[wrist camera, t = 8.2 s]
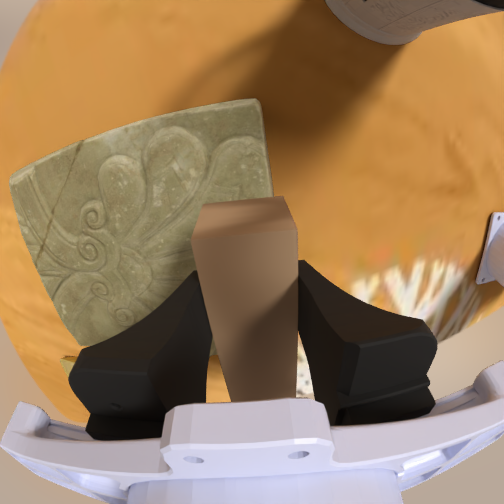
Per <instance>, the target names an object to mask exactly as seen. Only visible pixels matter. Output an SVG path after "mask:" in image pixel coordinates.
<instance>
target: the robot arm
mask: <svg viewBox="0 0 504 504" xmlns="http://www.w3.org/2000/svg"><path fill="white" fill-rule="evenodd" d="M494 280H497V281H498V282H499V283H500V284H501V285H502V286H503V287H504V212H494V213H493V214H492V216H491V220H490V225H489V230H488V235H487V239H486V244H485V248H484V252H483V256H482V260H481V264H480V267H479V271H478V274H477V278H476V283H477V284H483V283H487V282H491V281H494ZM298 332H299V335H300V338H301V341H302V344H303V347H304V350H305V354H306V357H307V360H308V364H309V369H310V374H311V380H312V385H313V391H314V397H315V401H314V400H312V399H309V398H294V397H287V398H278V399H268V400H257V401H242V402H221V403H206V381H207V368H208V361H209V355H210V349H211V343H212V337H213V334H212V330H211V327H210V323H209V319H208V315H207V311H206V306H205V302H204V298H203V294H202V290H201V285H200V281H199V277H198V272H197V270H194V271H193V272H192V273H191V274H190V275H189V276H188V277H187V278H186V279H185V280H184V281H183V282H182V284H181V285H180V286H179V287H178V288H177V289H176V290H175V291H174V292H173V293H172V294H171V295H170V296H169V297H168V298H167V299H166V300H165V301H164V302H163V303H162V304H161V305H160V306H158V307H157V308H156V309H155V310H154V311H152V312H151V313H150V314H149V315H147V316H146V317H145V318H143V319H142V320H140V321H139V322H137V323H136V324H134V325H132V326H131V327H129V328H128V329H126V330H124V331H123V332H121V333H119V334H117V335H115V336H113V337H111V338H109V339H107V340H105V341H102V342H100V343H97V344H95V345H92V346H89V347H87V348H84V349H82V350H81V352H80V354H79V356H78V358H77V360H76V362H75V364H74V365H73V367H72V369H71V371H70V374H69V378H68V380H69V384H70V387H71V388H72V390H73V392H74V393H75V395H76V396H77V397H78V398H79V400H80V401H81V402H82V404H83V405H84V406H85V407H86V408H87V410H88V411H89V412H90V413H91V414H90V417H89V420H88V423H87V426H86V428H85V427H80V426H76V425H72V424H68V423H63V422H60V421H56V420H52V419H50V417H49V416H48V414H47V413H45V411H44V410H43V409H41V408H40V407H38V406H36V405H33V404H29V403H26V402H22V401H19V403H18V405H17V407H16V409H15V411H14V413H13V415H12V417H11V419H10V422H9V424H8V426H7V428H6V431H5V433H4V435H3V437H2V440H1V442H0V447H1V448H2V449H4V450H5V451H6V452H7V453H8V454H10V455H11V456H12V457H13V458H15V459H16V460H17V461H19V462H20V463H21V464H22V465H24V466H25V467H27V468H28V469H29V470H30V471H32V472H33V473H35V474H36V475H38V476H40V477H42V478H45V479H47V480H49V481H51V482H54V483H56V484H59V485H61V486H63V487H66V488H68V489H70V490H73V491H76V492H78V493H81V494H83V495H86V496H89V497H92V498H95V499H97V500H100V501H103V502H106V503H109V504H404V503H403V499H402V496H401V492H402V491H404V490H406V489H409V488H411V487H413V486H416V485H418V484H420V483H422V482H424V481H426V480H428V479H430V478H433V477H434V476H436V475H438V474H440V473H442V472H444V471H446V470H448V469H450V468H451V467H453V466H455V465H457V464H459V463H460V462H462V461H464V460H465V459H467V458H469V457H470V456H472V455H474V454H475V453H477V452H478V451H480V450H482V449H483V448H485V447H486V446H488V445H490V444H491V443H493V442H494V441H496V440H497V439H499V438H500V437H501V436H502V435H503V434H504V361H499V362H497V363H495V364H493V365H491V366H489V367H487V368H485V369H484V370H482V371H481V372H480V373H479V375H478V376H477V378H476V379H475V381H474V383H473V385H471V386H468V387H466V388H464V389H462V390H459V391H457V392H455V393H452V394H450V395H448V396H445V397H443V398H440V399H437V400H434V398H433V396H432V395H431V393H430V390H429V389H428V386H429V385H430V380H429V379H428V377H427V375H426V374H427V372H428V370H429V368H430V366H431V364H432V361H433V359H434V357H435V354H436V351H437V340H436V338H435V336H434V335H433V334H432V332H431V331H430V329H429V328H428V326H427V325H426V324H425V322H424V321H423V320H422V319H417V318H412V317H407V316H402V315H398V314H395V313H392V312H388V311H385V310H382V309H380V308H377V307H374V306H372V305H370V304H367V303H365V302H363V301H361V300H359V299H357V298H355V297H353V296H352V295H350V294H348V293H346V292H345V291H343V290H341V289H340V288H339V287H337V286H336V285H334V284H333V283H331V282H330V281H329V280H327V279H326V278H325V277H324V276H322V275H321V274H320V273H319V272H317V271H316V270H315V269H314V268H313V267H312V266H311V265H309V264H308V263H307V262H306V261H305V260H298Z"/></svg>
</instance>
